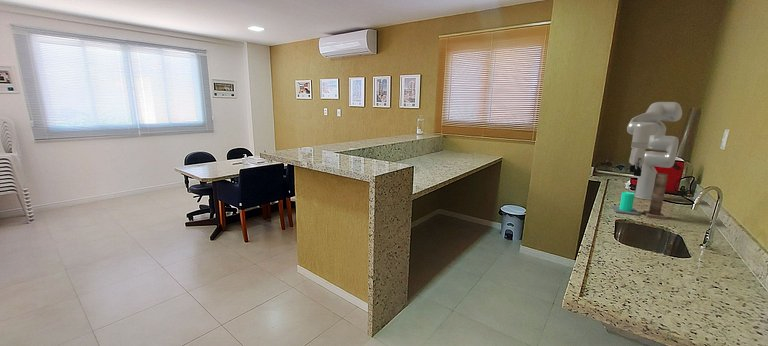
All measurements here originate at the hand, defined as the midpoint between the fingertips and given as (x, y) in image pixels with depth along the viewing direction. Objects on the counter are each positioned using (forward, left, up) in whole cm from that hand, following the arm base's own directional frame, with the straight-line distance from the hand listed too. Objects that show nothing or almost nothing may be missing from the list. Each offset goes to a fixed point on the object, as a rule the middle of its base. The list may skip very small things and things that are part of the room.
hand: (634, 174), depth 184 cm
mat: (+2, -2, -23) cm, 23 cm away
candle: (+2, -2, -22) cm, 22 cm away
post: (+5, +11, -23) cm, 26 cm away
